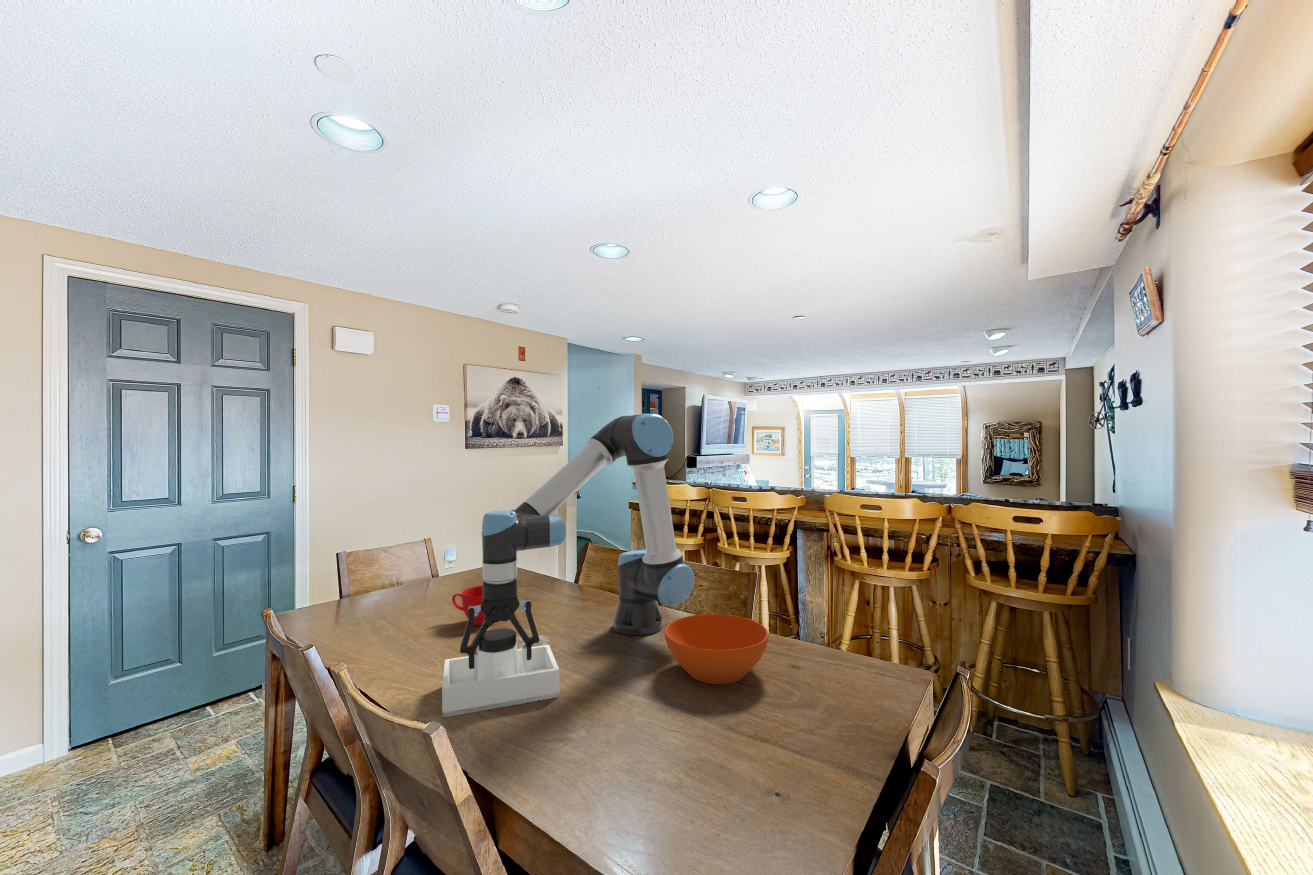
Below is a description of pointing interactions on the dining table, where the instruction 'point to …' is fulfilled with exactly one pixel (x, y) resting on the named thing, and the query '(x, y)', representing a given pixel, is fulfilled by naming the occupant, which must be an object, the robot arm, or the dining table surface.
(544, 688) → the bin
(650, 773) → the dining table surface
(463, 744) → the dining table surface
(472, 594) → the ceramic cup
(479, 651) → the jar
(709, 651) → the bowl
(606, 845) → the dining table surface
